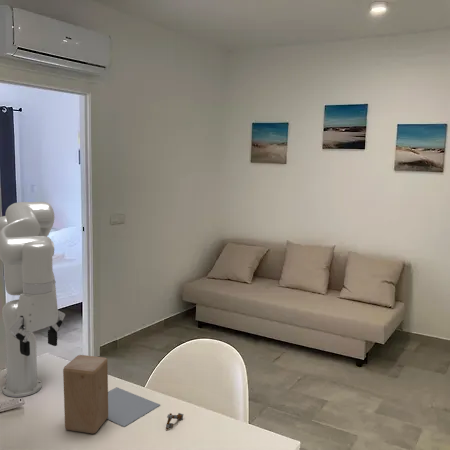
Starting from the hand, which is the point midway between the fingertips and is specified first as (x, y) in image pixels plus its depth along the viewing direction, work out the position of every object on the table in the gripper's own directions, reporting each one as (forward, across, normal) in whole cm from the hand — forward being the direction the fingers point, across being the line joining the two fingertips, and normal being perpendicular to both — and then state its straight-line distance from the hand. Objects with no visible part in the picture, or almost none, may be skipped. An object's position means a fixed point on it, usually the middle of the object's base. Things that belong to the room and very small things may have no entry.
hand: (39, 349), depth 136 cm
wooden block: (+28, -15, +2) cm, 32 cm away
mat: (+28, -29, +2) cm, 40 cm away
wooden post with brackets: (+29, -31, +23) cm, 48 cm away
